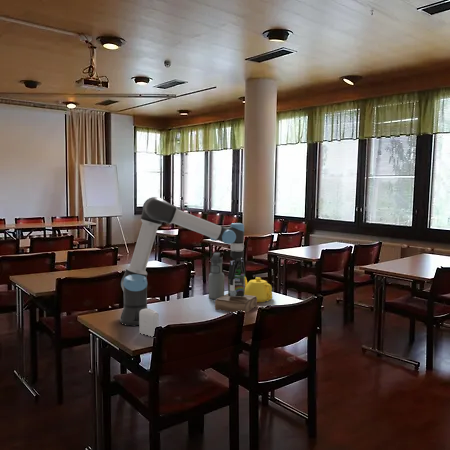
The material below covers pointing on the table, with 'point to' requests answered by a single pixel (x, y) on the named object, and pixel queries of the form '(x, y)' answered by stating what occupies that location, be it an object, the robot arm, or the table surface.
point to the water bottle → (216, 277)
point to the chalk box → (238, 285)
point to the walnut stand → (235, 303)
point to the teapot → (258, 289)
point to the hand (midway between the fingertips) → (236, 288)
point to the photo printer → (148, 321)
